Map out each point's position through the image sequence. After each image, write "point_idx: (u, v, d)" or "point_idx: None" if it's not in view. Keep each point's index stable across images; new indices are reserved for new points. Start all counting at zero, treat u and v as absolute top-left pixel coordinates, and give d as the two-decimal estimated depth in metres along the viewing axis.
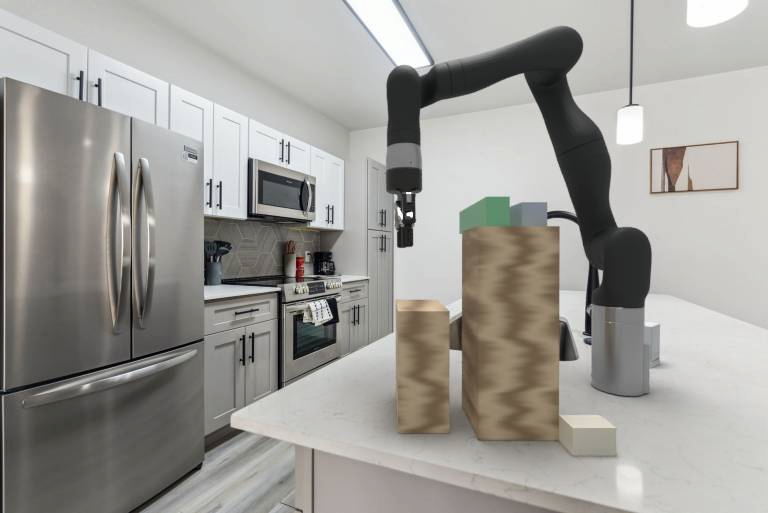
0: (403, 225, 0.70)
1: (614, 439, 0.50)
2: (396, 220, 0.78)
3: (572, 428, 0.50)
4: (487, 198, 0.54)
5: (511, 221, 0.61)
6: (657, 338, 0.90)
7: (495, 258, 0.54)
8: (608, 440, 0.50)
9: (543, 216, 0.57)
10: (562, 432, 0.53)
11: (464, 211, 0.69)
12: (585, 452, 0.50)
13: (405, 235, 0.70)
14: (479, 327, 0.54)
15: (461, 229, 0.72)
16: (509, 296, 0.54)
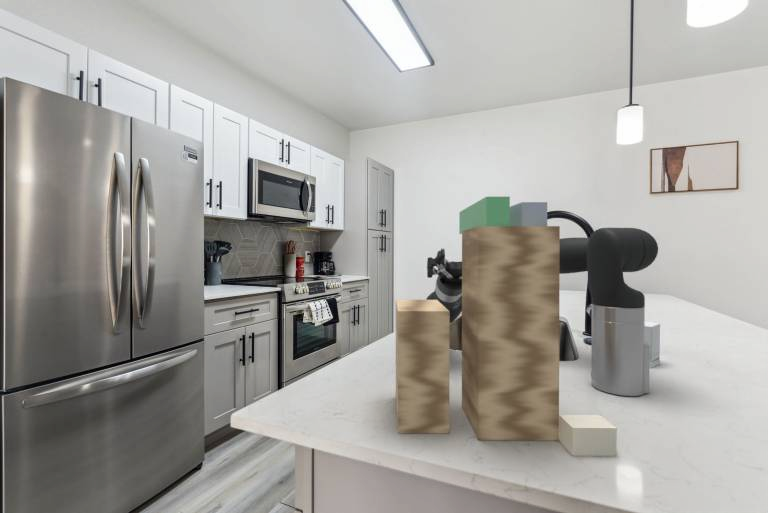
0: None
1: (614, 439, 0.50)
2: (445, 259, 0.85)
3: (572, 428, 0.50)
4: (487, 198, 0.54)
5: (511, 221, 0.61)
6: (657, 338, 0.90)
7: (495, 258, 0.54)
8: (608, 440, 0.50)
9: (543, 216, 0.57)
10: (562, 432, 0.53)
11: (464, 211, 0.69)
12: (585, 452, 0.50)
13: None
14: (479, 327, 0.54)
15: (461, 229, 0.72)
16: (509, 296, 0.54)
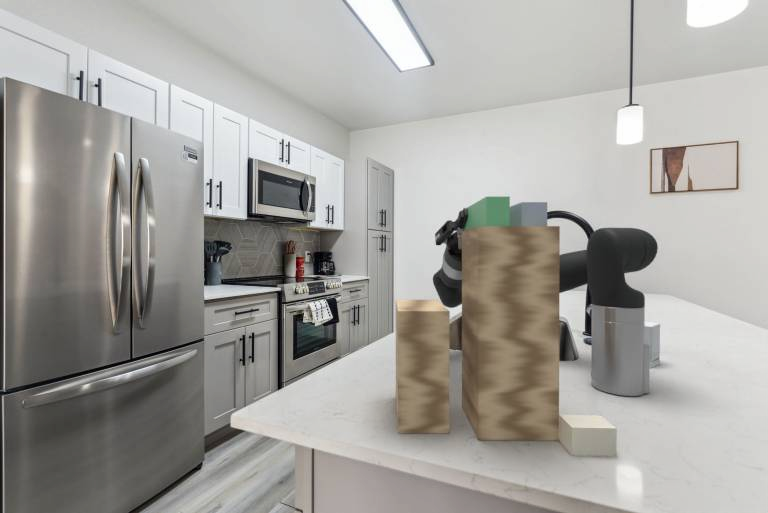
0: None
1: (614, 439, 0.50)
2: None
3: (571, 428, 0.50)
4: (487, 198, 0.54)
5: (511, 221, 0.61)
6: (657, 338, 0.90)
7: (495, 258, 0.54)
8: (608, 440, 0.50)
9: (543, 216, 0.57)
10: (562, 432, 0.53)
11: None
12: (584, 452, 0.50)
13: None
14: (479, 327, 0.54)
15: None
16: (509, 296, 0.54)
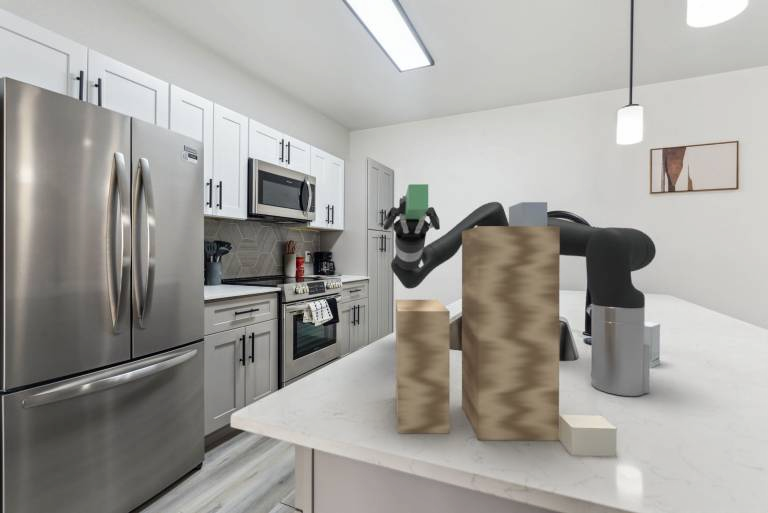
0: None
1: (614, 440, 0.50)
2: None
3: (571, 427, 0.50)
4: (409, 186, 0.64)
5: (511, 221, 0.61)
6: (657, 338, 0.90)
7: (495, 258, 0.54)
8: (608, 440, 0.50)
9: (543, 216, 0.57)
10: (562, 431, 0.53)
11: None
12: (584, 452, 0.50)
13: None
14: (479, 327, 0.54)
15: None
16: (509, 296, 0.54)
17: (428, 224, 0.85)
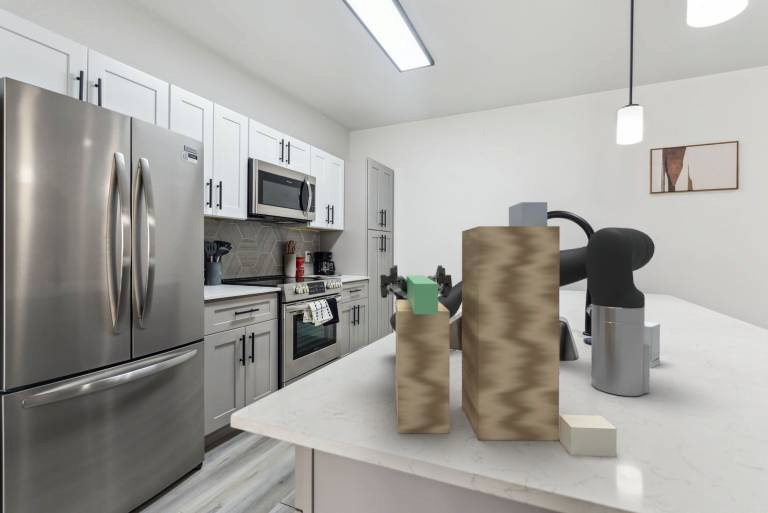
0: None
1: (614, 440, 0.50)
2: (401, 277, 0.72)
3: (571, 427, 0.50)
4: (415, 285, 0.53)
5: (511, 221, 0.61)
6: (657, 338, 0.90)
7: (495, 258, 0.54)
8: (608, 441, 0.50)
9: (543, 216, 0.57)
10: (562, 431, 0.53)
11: None
12: (584, 452, 0.50)
13: None
14: (479, 327, 0.54)
15: None
16: (509, 296, 0.54)
17: None
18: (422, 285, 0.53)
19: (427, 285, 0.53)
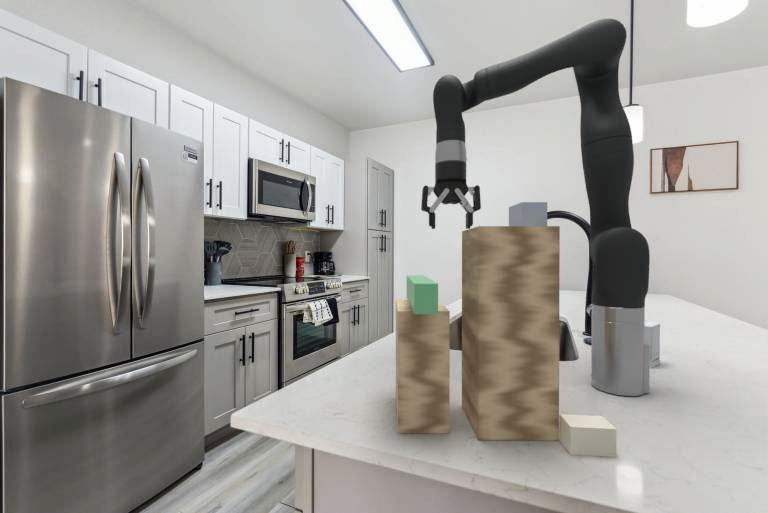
0: (473, 211, 0.88)
1: (614, 440, 0.50)
2: (439, 203, 0.87)
3: (570, 427, 0.50)
4: (415, 285, 0.53)
5: (511, 221, 0.61)
6: (657, 338, 0.90)
7: (495, 258, 0.54)
8: (608, 441, 0.50)
9: (543, 216, 0.57)
10: (562, 431, 0.53)
11: None
12: (583, 452, 0.50)
13: (472, 219, 0.88)
14: (479, 327, 0.54)
15: None
16: (509, 296, 0.54)
17: (468, 191, 0.88)
18: (422, 285, 0.53)
19: (427, 285, 0.53)
